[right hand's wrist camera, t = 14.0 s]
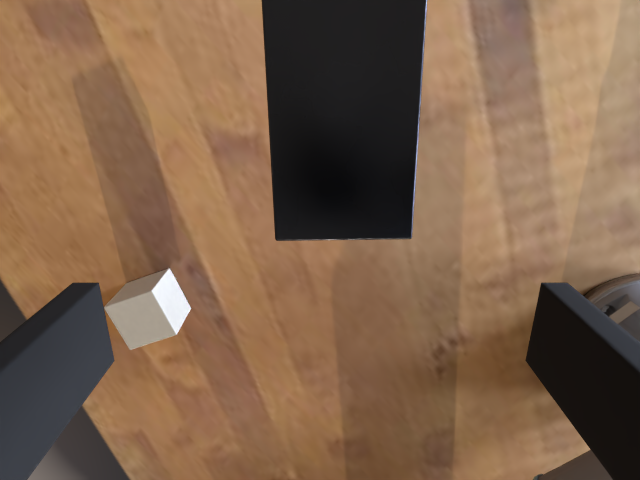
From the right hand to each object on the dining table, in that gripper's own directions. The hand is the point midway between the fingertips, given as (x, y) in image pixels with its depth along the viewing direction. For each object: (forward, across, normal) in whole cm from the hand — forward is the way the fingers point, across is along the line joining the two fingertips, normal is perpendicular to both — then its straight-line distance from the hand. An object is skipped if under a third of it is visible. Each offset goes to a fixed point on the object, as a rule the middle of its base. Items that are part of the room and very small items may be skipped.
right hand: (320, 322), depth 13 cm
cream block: (+28, +17, +14) cm, 36 cm away
